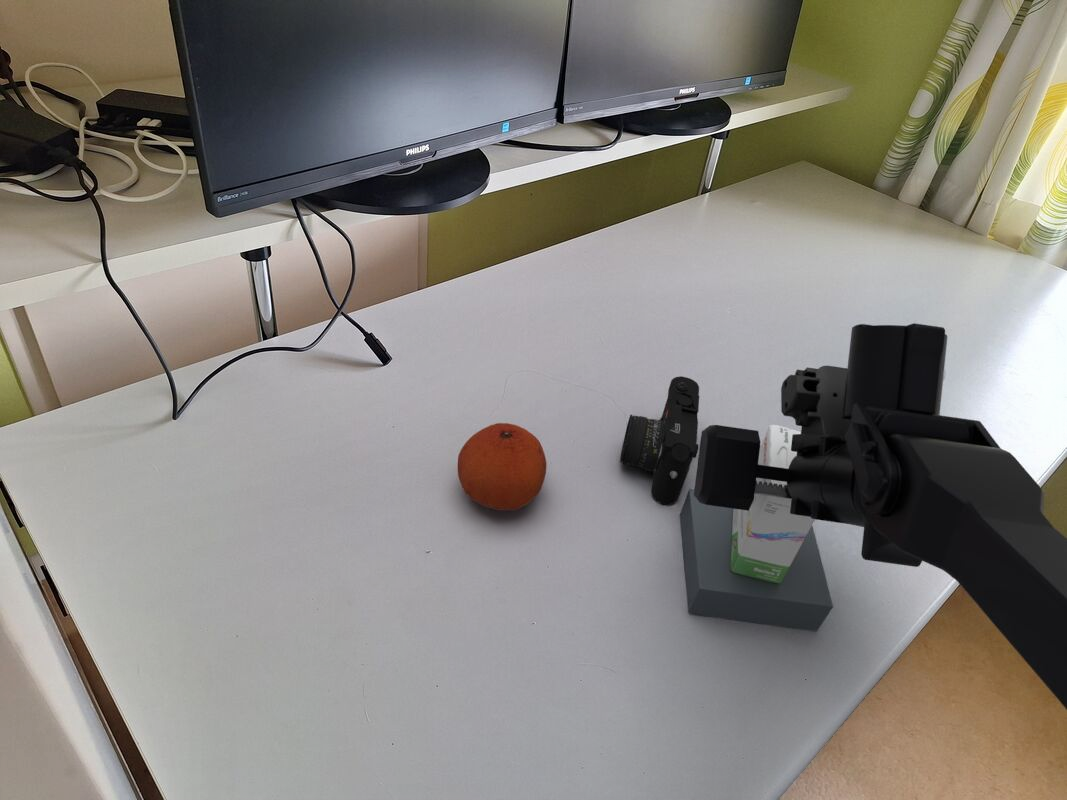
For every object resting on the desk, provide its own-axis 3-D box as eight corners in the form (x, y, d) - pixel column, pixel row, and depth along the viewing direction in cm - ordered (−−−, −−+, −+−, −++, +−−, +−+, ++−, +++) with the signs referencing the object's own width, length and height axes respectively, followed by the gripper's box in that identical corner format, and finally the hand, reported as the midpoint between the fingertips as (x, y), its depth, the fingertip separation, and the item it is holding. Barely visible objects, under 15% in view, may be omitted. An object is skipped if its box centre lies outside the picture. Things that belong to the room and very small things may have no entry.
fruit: (471, 451, 82) (476, 395, 77) (550, 474, 81) (561, 419, 75) (441, 510, 75) (444, 453, 70) (527, 536, 74) (536, 480, 69)
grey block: (817, 631, 70) (833, 606, 67) (688, 614, 69) (699, 588, 67) (793, 529, 79) (807, 504, 76) (679, 513, 79) (689, 487, 76)
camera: (628, 410, 90) (642, 357, 85) (688, 423, 89) (706, 371, 84) (612, 497, 79) (628, 443, 74) (681, 513, 79) (701, 459, 73)
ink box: (781, 586, 68) (829, 501, 61) (728, 572, 69) (768, 486, 61) (780, 518, 74) (823, 433, 67) (731, 505, 75) (768, 420, 67)
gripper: (1006, 386, 53) (894, 401, 68) (741, 348, 52) (688, 372, 68) (991, 547, 52) (881, 525, 67) (721, 510, 52) (673, 496, 67)
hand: (781, 476), depth 67 cm, fingers open, 9 cm apart
